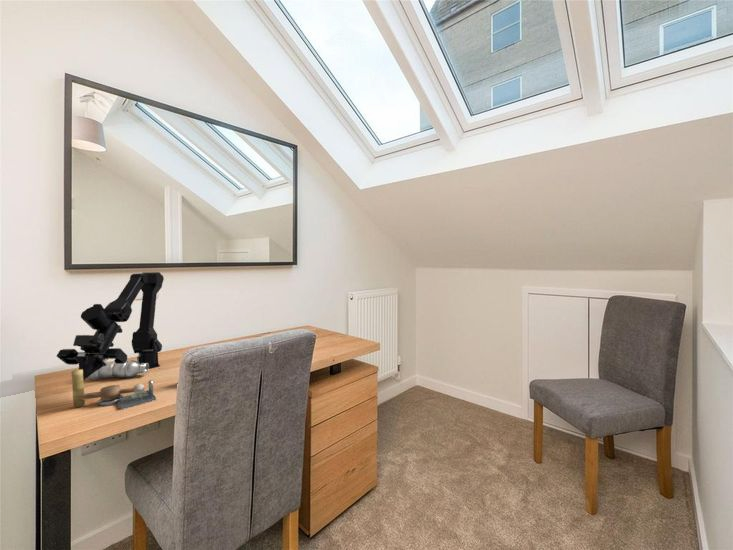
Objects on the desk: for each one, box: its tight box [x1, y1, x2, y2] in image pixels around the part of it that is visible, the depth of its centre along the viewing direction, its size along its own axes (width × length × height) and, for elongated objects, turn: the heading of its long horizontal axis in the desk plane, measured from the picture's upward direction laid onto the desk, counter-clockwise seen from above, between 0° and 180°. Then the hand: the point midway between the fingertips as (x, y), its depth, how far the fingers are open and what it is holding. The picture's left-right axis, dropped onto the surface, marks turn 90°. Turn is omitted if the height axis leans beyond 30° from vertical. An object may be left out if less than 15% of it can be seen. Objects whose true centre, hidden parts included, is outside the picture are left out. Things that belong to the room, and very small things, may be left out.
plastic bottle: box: [86, 359, 150, 381], centre depth 128 cm, size 6×7×20 cm
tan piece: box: [71, 369, 145, 408], centre depth 106 cm, size 18×5×11 cm, turn 113°
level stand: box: [97, 380, 157, 410], centre depth 107 cm, size 14×12×5 cm
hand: (79, 381), depth 105 cm, fingers closed
